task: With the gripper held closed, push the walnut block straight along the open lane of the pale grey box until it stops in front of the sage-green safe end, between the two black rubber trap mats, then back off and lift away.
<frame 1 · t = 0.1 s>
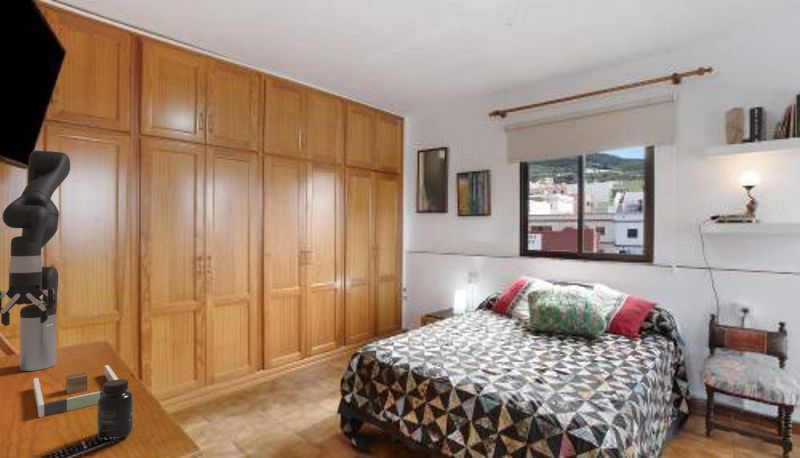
hand: (24, 324, 128), 17 cm above the table, tool pointing down, fingers open, 8 cm apart
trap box: (77, 393, 120), on the table
supplement bottle: (115, 435, 97), on the table
safe end: (81, 401, 114), on the table
walnut block: (76, 390, 122), on the table
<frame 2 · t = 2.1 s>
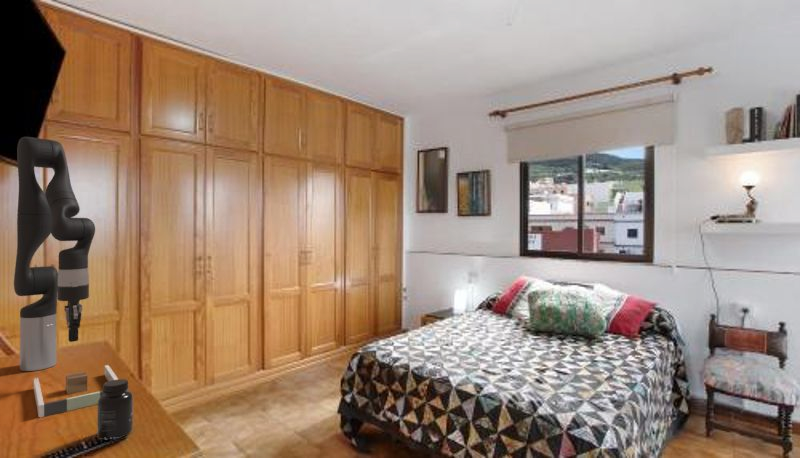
hand: (73, 340, 127), 13 cm above the table, tool pointing down, fingers closed
nothing on the table moved.
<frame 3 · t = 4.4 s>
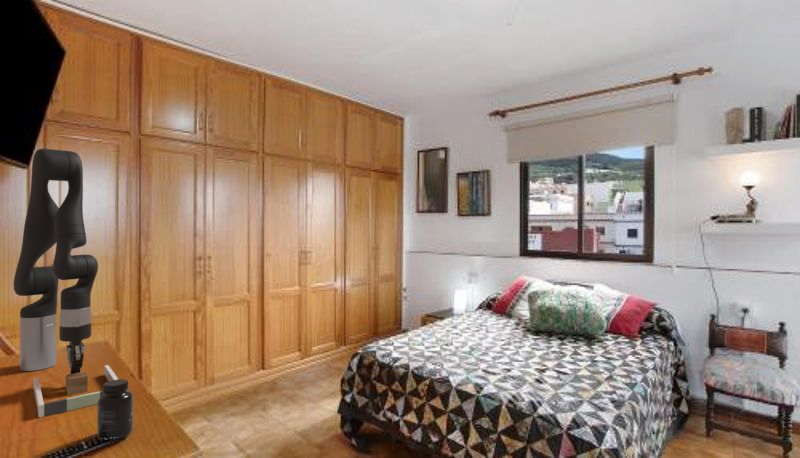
hand: (75, 380, 125), 2 cm above the table, tool pointing down, fingers closed
walnut block: (76, 390, 121), on the table, touching gripper
everything else where it was.
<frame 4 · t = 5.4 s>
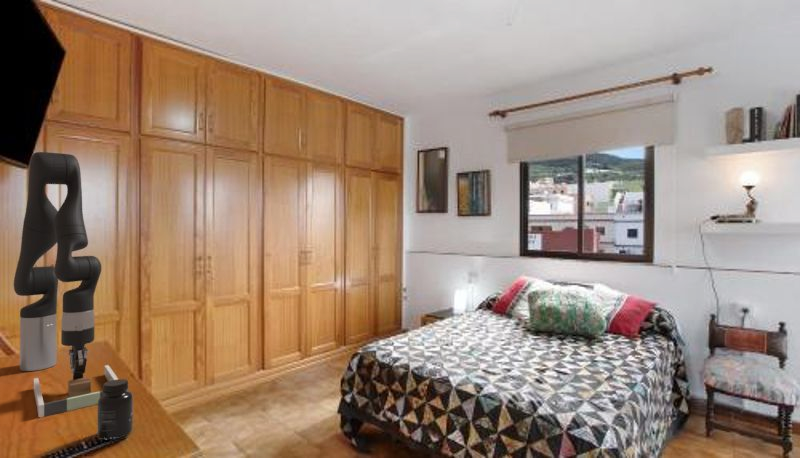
hand: (77, 386, 120), 2 cm above the table, tool pointing down, fingers closed
walnut block: (79, 397, 117), on the table, touching gripper
everything else where it was.
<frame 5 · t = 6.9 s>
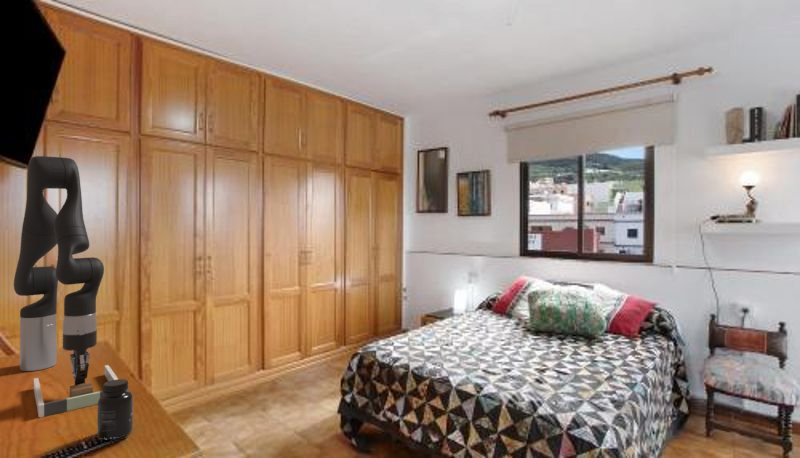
hand: (79, 392, 117), 2 cm above the table, tool pointing down, fingers closed
walnut block: (81, 403, 113), on the table, touching gripper
everything else where it was.
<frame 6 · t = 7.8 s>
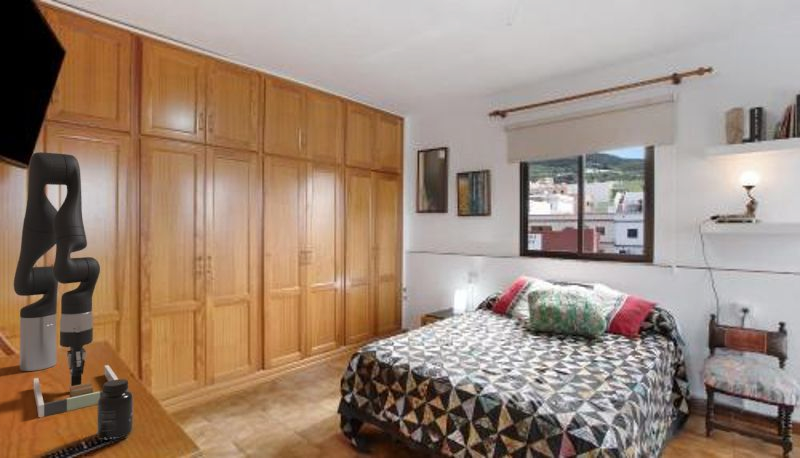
hand: (76, 387, 121), 1 cm above the table, tool pointing down, fingers closed
walnut block: (81, 403, 113), on the table
everything else where it was.
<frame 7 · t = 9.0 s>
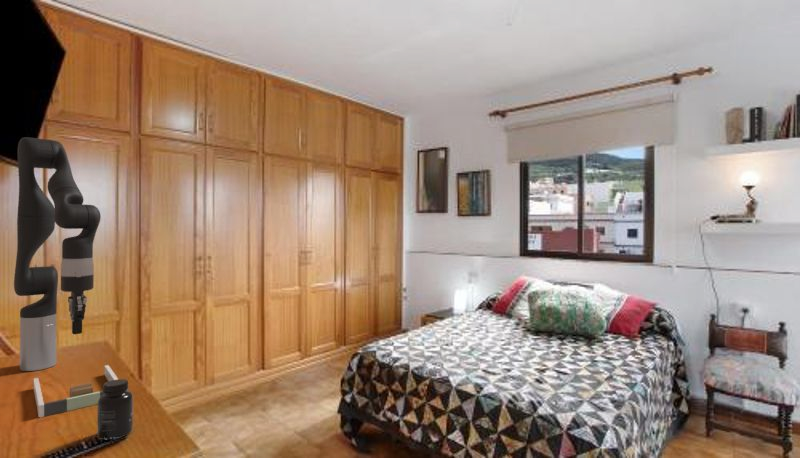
hand: (77, 333, 122), 16 cm above the table, tool pointing down, fingers closed
nothing on the table moved.
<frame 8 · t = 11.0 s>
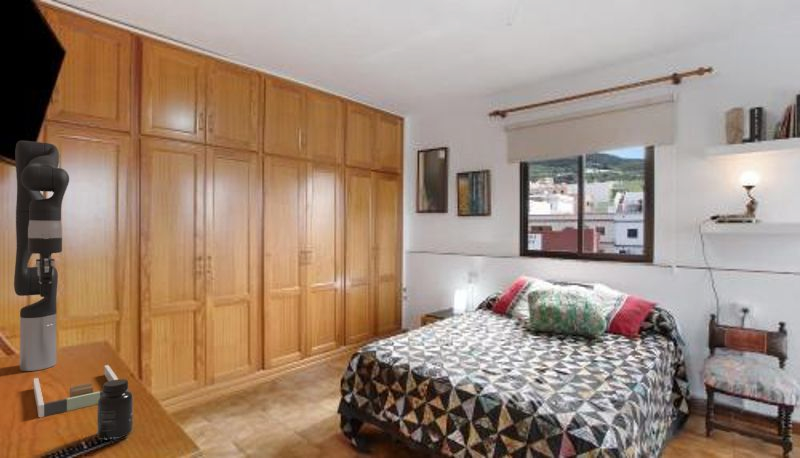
hand: (45, 296, 122), 27 cm above the table, tool pointing down, fingers closed
nothing on the table moved.
at the end: walnut block 0.9 cm from the safe end (horizontally); walnut block moved 11.4 cm from its start; walnut block tilted 0° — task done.
